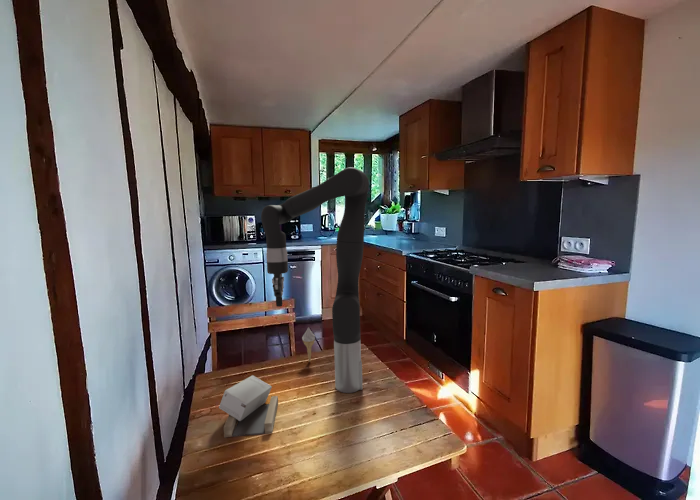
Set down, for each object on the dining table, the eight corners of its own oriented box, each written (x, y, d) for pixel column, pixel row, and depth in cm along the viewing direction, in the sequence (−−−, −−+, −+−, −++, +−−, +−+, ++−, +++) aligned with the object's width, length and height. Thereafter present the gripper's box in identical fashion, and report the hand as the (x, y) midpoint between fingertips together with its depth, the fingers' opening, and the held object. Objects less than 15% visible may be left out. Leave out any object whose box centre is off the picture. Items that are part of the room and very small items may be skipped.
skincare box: (247, 389, 110) (216, 408, 96) (253, 373, 110) (223, 389, 95) (267, 402, 108) (239, 423, 93) (273, 385, 107) (246, 404, 93)
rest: (278, 404, 106) (277, 395, 105) (272, 433, 92) (271, 423, 92) (236, 408, 105) (235, 399, 104) (224, 437, 91) (223, 427, 90)
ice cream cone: (317, 359, 139) (316, 324, 137) (314, 365, 133) (313, 329, 132) (304, 358, 139) (303, 324, 138) (301, 364, 134) (299, 329, 132)
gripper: (285, 262, 115) (288, 310, 117) (289, 257, 128) (290, 301, 130) (263, 262, 114) (266, 311, 116) (269, 258, 127) (271, 302, 129)
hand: (279, 305), depth 123 cm, fingers closed
